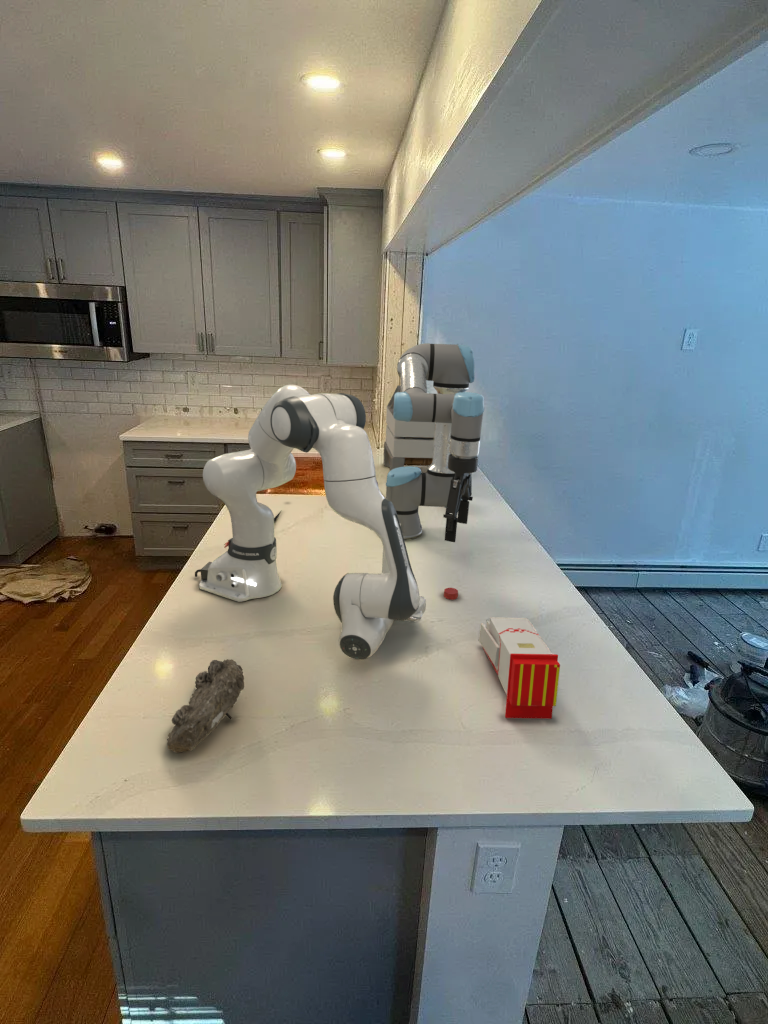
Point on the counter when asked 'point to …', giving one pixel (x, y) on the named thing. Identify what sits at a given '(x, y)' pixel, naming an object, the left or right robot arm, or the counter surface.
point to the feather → (276, 517)
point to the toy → (522, 666)
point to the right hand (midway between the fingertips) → (456, 531)
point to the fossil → (206, 705)
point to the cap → (450, 593)
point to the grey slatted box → (407, 441)
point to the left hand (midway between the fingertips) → (392, 587)
